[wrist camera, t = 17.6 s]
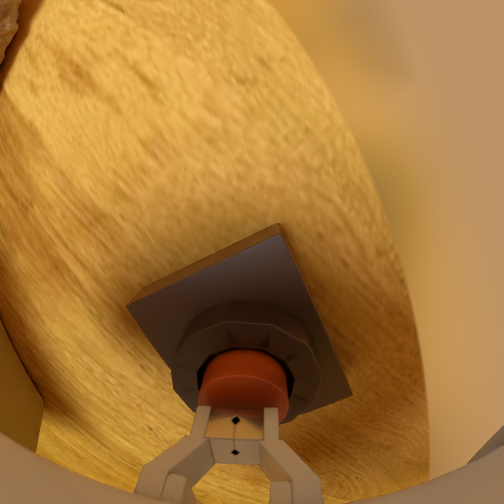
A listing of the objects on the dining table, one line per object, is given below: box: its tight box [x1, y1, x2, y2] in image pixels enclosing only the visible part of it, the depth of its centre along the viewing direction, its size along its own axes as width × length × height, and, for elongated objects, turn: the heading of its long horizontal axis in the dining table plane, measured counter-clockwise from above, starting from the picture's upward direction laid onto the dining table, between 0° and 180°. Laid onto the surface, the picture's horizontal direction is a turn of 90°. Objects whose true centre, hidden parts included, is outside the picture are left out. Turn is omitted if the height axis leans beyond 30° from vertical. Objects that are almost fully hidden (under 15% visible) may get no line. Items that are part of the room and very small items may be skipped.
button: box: [198, 349, 289, 423], centre depth 11 cm, size 4×4×2 cm
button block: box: [127, 223, 353, 425], centre depth 13 cm, size 10×8×4 cm
